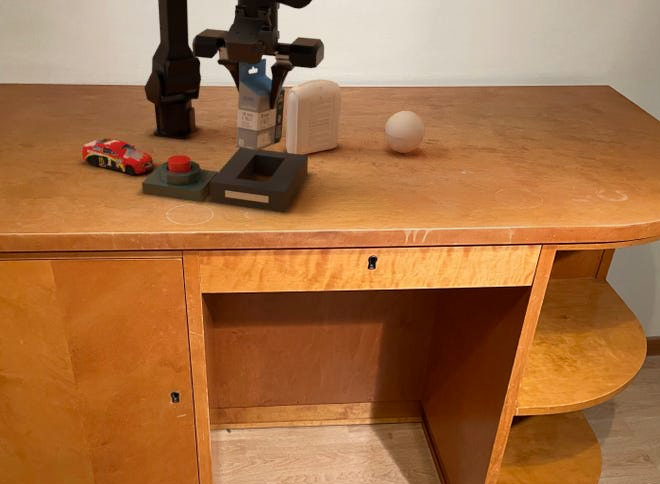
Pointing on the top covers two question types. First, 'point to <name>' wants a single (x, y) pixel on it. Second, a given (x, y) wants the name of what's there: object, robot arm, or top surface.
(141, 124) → the top surface
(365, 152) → the top surface
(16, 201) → the top surface
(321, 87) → the cream rounded slab
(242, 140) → the tape cartridge
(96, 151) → the race car
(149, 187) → the button box
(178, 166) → the button
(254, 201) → the dark grey rectangular frame
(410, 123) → the seamed sphere
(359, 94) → the top surface
